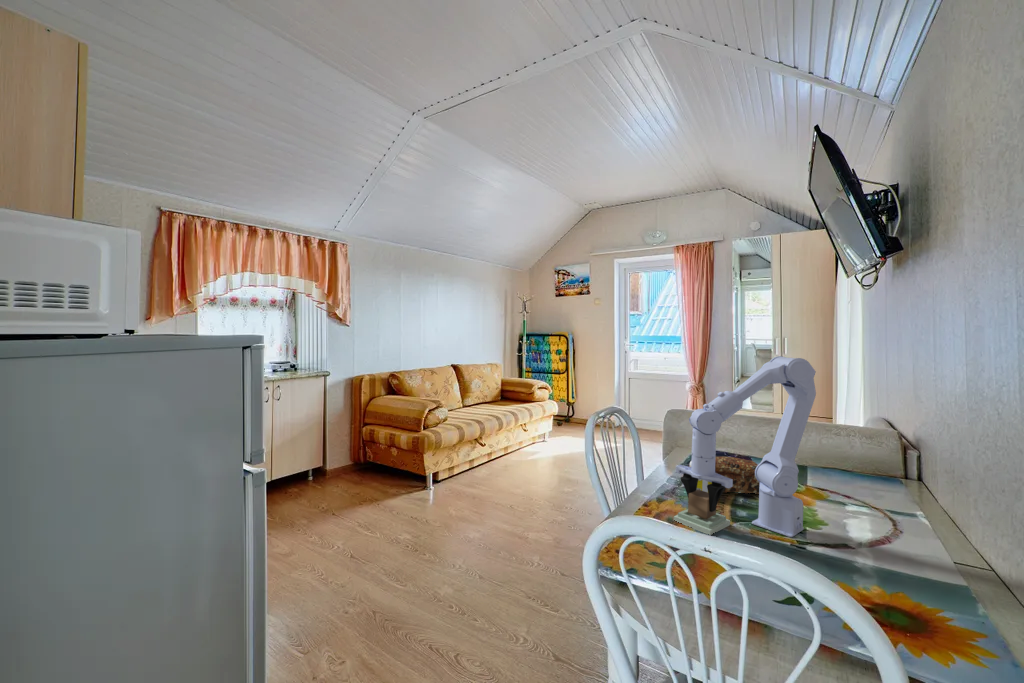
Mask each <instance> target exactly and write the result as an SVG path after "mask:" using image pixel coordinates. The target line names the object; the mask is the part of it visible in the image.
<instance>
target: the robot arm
mask: <svg viewBox="0 0 1024 683" xmlns="http://www.w3.org/2000/svg"><path fill="white" fill-rule="evenodd" d="M814 368H815V367H813V365H811V363H810V362H809V361H808V360H807V359H805V358H802V357H786V356H783V355H782V356H781V355H780V356H779V355H778V356H777V355H776V356H774V357H773V358H771V359H770V360H769V361H767V362H765V363H763V365H762V366H761V367H760V368H759V369H758V370H757V371H755V373H753V374H752V375H751V376H750V377H749V378H748V379H746V380H744V381H743V383H742V384H739V386H737V388H735V389H734V390H733V391H731V390H725V391H719V392H718V393H716V395H717V397H715V398H713V399H712V400H711V401H710V402H708V403H704V404H703V405H702V407H703V408H697V409H695V410H694V411H692V413H691V415H690V417H688V422H689V424H690V426H691V428H692V434H691V436H692V437H691V461H692V463H691V467H690V465H689V466H688V465H683V464H678V465H675V473H676V474H679V475H680V474H682V476H681V477H680V481H681V483H682V485H683V486H684V489H685V492H686V496H687V499H688V498H689V493H691V492H694V491H696V490H697V484H698V479H702V480H705V481H708V482H712V484H709V485H707V489H708V494H709V511H710V512H713V511H715V510H716V511H717V507H718V504H719V500H720V499H721V496H722V494H723V493H724V492H723V491H724V489H725V488H731V487H732V486H733V479H730V478H727V477H724V476H722V475H720V474H717V473H715V458H716V457H715V456H717V455H716V453H717V450H716V449H717V446H716V445H717V433H718V432H719V430H720V429H721V428H722V423H724V422H725V421H726V420H728V419H729V418H731V417H733V415H735V414H736V413H738V411H740V410H741V409H743V404H744V401H746V400H747V399H749V398H751V397H752V396H754V395H755V394H757V393H758V392H759V391H761V390H762V389H764V388H766V387H767V386H768V385H772V384H780V385H781V386H782V387H783V389H784V390H785V391H786V392H787V394H788V398H787V401H786V404H785V408H784V410H783V413H782V417H781V419H780V422H779V426H778V428H777V430H776V431H777V432H776V434H775V437H774V441H773V444H772V446H771V450H770V451H769V452H767V453H765V455H763V457H762V460H761V461H760V463H758V466H757V467H756V469H755V476H756V479H757V480H758V481H759V482H760V485H759V486H760V487H759V495H758V517H757V518H756V519H754V520H752V521H751V524H752V525H755V526H757V527H760V528H763V529H766V530H769V531H770V532H771V531H772V532H775V533H777V534H780V535H782V536H787V537H789V538H792V537H795V536H796V535H797V534H798V533H800V532H802V531H803V530H804V526H803V524H804V503H803V499H801V498H799V497H796V496H794V494H795V493H796V491H797V490H798V488H799V481H798V480H799V479H798V475H799V472H800V470H799V468H798V465H797V462H796V457H797V454H798V451H799V448H800V445H801V441H802V440H803V436H804V433H805V430H806V428H807V427H806V426H807V424H808V420H809V417H810V414H811V413H812V412H811V411H812V408H813V405H814V402H815V399H816V394H817V392H816V386H815V375H816V372H817V371H816V369H814Z"/></svg>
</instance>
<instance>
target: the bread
mask: <svg viewBox="0 0 1024 683" xmlns="http://www.w3.org/2000/svg"><path fill="white" fill-rule="evenodd" d="M715 457H716V458H715V473H717V474H720V475H722V476H724V477H727V478H730V479H733V486H732V487H731V488H725V489H724V491H723V492H722V493H727V492H741V493H745V494H748V493H749V494H750V493H755V494H754V495H758V494H759V487H760V486H759V485H760V482H759V481H758V480H757V479H756V476H755V469H756V467H757V466H758V465H759V463H758V464H757V463H756V462H755V461H754V460H749V459H744V458H738V457H735V456H733V457H732V456H723V455H722V456H717V455H716V456H715Z"/></svg>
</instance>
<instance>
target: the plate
mask: <svg viewBox="0 0 1024 683" xmlns="http://www.w3.org/2000/svg"><path fill="white" fill-rule="evenodd" d="M674 520H675V521H677V522H676V523H678V522H679V523H678V524H680V523H682V524H681V525H683V526H686V527H688V526H689V528H690V527H692V528H691V529H693V530H696V531H698V532H701V533H704V534H706V535H708V534H709V535H708V536H711V535H713V533H714V534H716V533H718V532H719V531H721V530H723V529H725V528H727V527H729V526H731V520H730V519H727V515H723V514H720V513H718V512H716V515H714V516H712V517H710V518H708V519H704V518H702V517H699V516H696V515H694V514H691V513H688V508H687V509H686V508H685V509H683V510H682V511H679V512H677V514H676V515H674V516H673V521H674ZM675 521H674V522H675ZM715 532H716V533H715Z"/></svg>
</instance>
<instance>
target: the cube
mask: <svg viewBox="0 0 1024 683" xmlns="http://www.w3.org/2000/svg"><path fill="white" fill-rule="evenodd" d="M687 499H688V500H687V503H688V504H687V505H688V506H687V509H688V513H691V514H694V515H696V516H699V517H702V518H704V519H708V518H710V517H712V516H714V515H716V513H717V509H716V510H715V511H713V512H710V511H709V494H708V493H707V492H704V491H701V490H696V491H694V492H691V493H689V498H688V497H687Z"/></svg>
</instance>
